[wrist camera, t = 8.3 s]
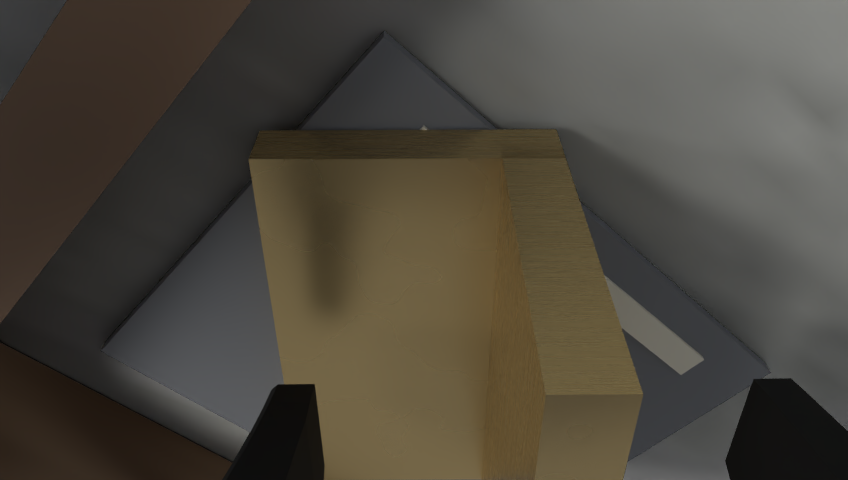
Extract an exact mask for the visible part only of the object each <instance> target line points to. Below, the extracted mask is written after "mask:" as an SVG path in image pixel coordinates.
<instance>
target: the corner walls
mask: <svg viewBox="0 0 848 480" xmlns="http://www.w3.org/2000/svg"><path fill="white" fill-rule="evenodd" d="M251 1H252V0H67V1H66V3H65V4H64V6H63V8H62V9H61V11H60V12H59V14H58V15H57V17H56V18H55V20H54V22H53V23H52V25H51V26H50V28H49V29H48V31H47V32H46V34H45V36H44V37H43V39H42V40H41V42H40V43H39V45H38V47H37V48H36V50H35V51H34V53H33V54H32V56H31V57H30V59H29V61H28V62H27V64H26V65H25V67H24V68H23V70H22V71H21V73H20V75H19V76H18V78H17V79H16V81H15V82H14V84H13V86H12V87H11V89H10V90H9V92H8V93H7V95H6V96H5V98H4V100H3V101H2V103H1V104H0V323H1V322H2V321H3V319H4V318H5V317H6V316H7V314H8V313H9V312H10V310H11V309H12V308H13V307H14V305H15V304H16V303H17V301H18V300H19V299H20V298H21V296H22V295H23V294H24V292H25V291H26V290H27V289H28V287H29V286H30V285H31V283H32V282H33V281H34V280H35V278H36V277H37V276H38V274H39V273H40V272H41V271H42V269H43V268H44V267H45V265H46V264H47V263H48V262H49V260H50V259H51V258H52V256H53V255H54V254H55V253H56V251H57V250H58V249H59V247H60V246H61V245H62V244H63V242H64V241H65V240H66V238H67V237H68V236H69V235H70V233H71V232H72V231H73V229H74V228H75V227H76V226H77V224H78V223H79V222H80V220H81V219H82V218H83V217H84V215H85V214H86V213H87V211H88V210H89V209H90V208H91V206H92V205H93V204H94V202H95V201H96V200H97V199H98V197H99V196H100V195H101V193H102V192H103V191H104V190H105V188H106V187H107V186H108V184H109V183H110V182H111V181H112V179H113V178H114V177H115V175H116V174H117V173H118V172H119V170H120V169H121V168H122V166H123V165H124V164H125V163H126V161H127V160H128V159H129V157H130V156H131V155H132V154H133V152H134V151H135V150H136V148H137V147H138V146H139V145H140V143H141V142H142V141H143V139H144V138H145V137H146V136H147V134H148V133H149V132H150V130H151V129H152V128H153V127H154V125H155V124H156V123H157V122H158V120H159V119H160V118H161V116H162V115H163V114H164V113H165V111H166V110H167V109H168V107H169V106H170V105H171V104H172V102H173V101H174V100H175V98H176V97H177V96H178V95H179V93H180V92H181V91H182V89H183V88H184V87H185V86H186V84H187V83H188V82H189V80H190V79H191V78H192V77H193V75H194V74H195V73H196V71H197V70H198V69H199V68H200V66H201V65H202V64H203V62H204V61H205V60H206V59H207V57H208V56H209V55H210V53H211V52H212V51H213V50H214V48H215V47H216V46H217V44H218V43H219V42H220V41H221V39H222V38H223V37H224V35H225V34H226V33H227V32H228V30H229V29H230V28H231V26H232V25H233V24H234V23H235V21H236V20H237V19H238V17H239V16H240V15H241V14H242V12H243V11H244V10H245V8H246V7H247V6H248V5H249V3H250V2H251ZM231 464H232V462H230V461H228V460H226V459H224V458H222V457H220V456H218V455H216V454H215V453H213V452H211V451H209V450H207V449H205V448H203V447H201V446H199V445H197V444H195V443H193V442H191V441H189V440H187V439H186V438H184V437H182V436H180V435H178V434H176V433H174V432H172V431H170V430H168V429H166V428H164V427H162V426H160V425H159V424H157V423H155V422H153V421H151V420H149V419H147V418H145V417H143V416H141V415H139V414H137V413H135V412H133V411H132V410H130V409H128V408H126V407H124V406H122V405H120V404H118V403H116V402H114V401H112V400H110V399H108V398H106V397H104V396H103V395H101V394H99V393H97V392H95V391H93V390H91V389H89V388H87V387H85V386H83V385H81V384H79V383H77V382H76V381H74V380H72V379H70V378H68V377H66V376H64V375H62V374H60V373H58V372H56V371H54V370H52V369H50V368H49V367H47V366H45V365H43V364H41V363H39V362H37V361H35V360H33V359H31V358H29V357H27V356H25V355H23V354H21V353H20V352H18V351H16V350H14V349H12V348H10V347H8V346H6V345H4V344H2V343H0V480H222V479H223V477H224V476H225V474H226V473H227V471H228V469H229V468H230V466H231Z"/></svg>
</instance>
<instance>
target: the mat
mask: <svg viewBox="0 0 848 480" xmlns="http://www.w3.org/2000/svg"><path fill="white" fill-rule="evenodd" d="M296 130H498V129H496V128H495V127H494V126H493V125H492V124H491V123H490V122H488V121H487V120H486V119H485V118H484V117H483V116H482V115H480V114H479V113H478V112H477V111H476V110H475V109H474V108H472V107H471V106H470V105H469V104H468V103H467V102H465V101H464V100H463V99H462V98H461V97H460V96H459V95H457V94H456V93H455V92H454V91H453V90H452V89H451V88H449V87H448V86H447V85H446V84H445V83H444V82H443V81H441V80H440V79H439V78H438V77H437V76H436V75H435V74H433V73H432V72H431V71H430V70H429V69H428V68H427V67H425V66H424V65H423V64H422V63H421V62H420V61H418V60H417V59H416V58H415V57H414V56H413V55H412V54H410V53H409V52H408V51H407V50H406V49H405V48H404V47H402V46H401V45H400V44H399V43H398V42H397V41H396V40H394V39H393V38H392V37H391V36H390V35H389V34H388V33H386V32H385V31H384V32H383V33H382V34H381V35H380V36H379V37H378V38H377V40H376V41H375V42H374V43H373V44H372V45H371V46H370V47H369V48H368V50H367V51H366V52H365V53H364V54H363V55H362V56H361V57H360V59H359V60H358V61H357V62H356V63H355V64H354V65H353V66H352V67H351V69H350V70H349V71H348V72H347V73H346V74H345V75H344V76H343V77H342V79H341V80H340V81H339V82H338V83H337V84H336V85H335V86H334V87H333V89H332V90H331V91H330V92H329V93H328V94H327V95H326V96H325V98H324V99H323V100H322V101H321V102H320V103H319V104H318V105H317V106H316V108H315V109H314V110H313V111H312V112H311V113H310V114H309V115H308V116H307V118H306V119H305V120H304V121H303V122H302V123H301V124H300V125H299V126H298V128H297V129H296ZM580 203H581V202H580ZM581 206H582V209H583V212H584V215H585V218H586V221H587V224H588V228H589V231H590V234H591V237H592V240H593V243H594V246H595V249H596V252H597V255H598V258H599V261H600V264H601V267H602V270H603V273H604V276H605V279H606V282H607V285H608V288H609V291H610V295H611V298H612V301H613V304H614V307H615V310H616V313H617V316H618V319H619V322H620V325H621V328H622V331H623V334H624V337H625V340H626V343H627V346H628V349H629V352H630V355H631V358H632V361H633V365H634V368H635V371H636V374H637V377H638V380H639V383H640V386H641V389H642V392H643V398H642V402H641V406H640V410H639V415H638V419H637V423H636V427H635V431H634V436H633V440H632V444H631V448H630V452H629V457H628V461H629V460H631V459H633V458H634V457H636V456H638V455H639V454H641V453H642V452H644V451H646V450H647V449H649V448H650V447H652V446H654V445H655V444H657V443H658V442H660V441H662V440H663V439H665V438H667V437H668V436H670V435H671V434H673V433H675V432H676V431H678V430H679V429H681V428H683V427H684V426H686V425H687V424H689V423H691V422H692V421H694V420H695V419H697V418H699V417H700V416H702V415H704V414H705V413H707V412H708V411H710V410H712V409H713V408H715V407H716V406H718V405H720V404H721V403H723V402H724V401H726V400H728V399H729V398H731V397H732V396H734V395H736V394H737V393H739V392H741V391H742V390H744V389H745V388H747V387H749V386H750V385H752V382H753V379H761V378H763V377H765V376H766V375H768V374H770V373H771V372H770V371H769V369H768V367H767V365H766V363H765V362H764V361H762V360H761V359H760V358H759V357H758V356H757V355H756V354H754V353H753V352H752V351H751V350H750V349H749V348H748V347H746V346H745V345H744V344H743V343H742V342H741V341H740V340H738V339H737V338H736V337H735V336H734V335H733V334H731V333H730V332H729V331H728V330H727V329H726V328H725V327H723V326H722V325H721V324H720V323H719V322H718V321H717V320H715V319H714V318H713V317H712V316H711V315H710V314H709V313H707V312H706V311H705V310H704V309H703V308H702V307H701V306H699V305H698V304H697V303H696V302H695V301H694V300H692V299H691V298H690V297H689V296H688V295H687V294H686V293H684V292H683V291H682V290H681V289H680V288H679V287H678V286H676V285H675V284H674V283H673V282H672V281H671V280H670V279H668V278H667V277H666V276H665V275H664V274H663V273H662V272H660V271H659V270H658V269H657V268H656V267H655V266H654V265H652V264H651V263H650V262H649V261H648V260H647V259H645V258H644V257H643V256H642V255H641V254H640V253H639V252H637V251H636V250H635V249H634V248H633V247H632V246H631V245H629V244H628V243H627V242H626V241H625V240H624V239H623V238H621V237H620V236H619V235H618V234H617V233H616V232H615V231H613V230H612V229H611V228H610V227H609V226H608V225H607V224H605V223H604V222H603V221H602V220H601V219H600V218H598V217H597V216H596V215H595V214H594V213H593V212H592V211H590V210H589V209H588V208H587V207H586V206H585V205H584V204H582V203H581ZM101 352H103V353H105V354H107V355H109V356H111V357H112V358H114V359H116V360H118V361H120V362H122V363H123V364H125V365H127V366H129V367H131V368H133V369H134V370H136V371H138V372H140V373H142V374H144V375H145V376H147V377H149V378H151V379H153V380H155V381H157V382H158V383H160V384H162V385H164V386H166V387H168V388H169V389H171V390H173V391H175V392H177V393H179V394H180V395H182V396H184V397H186V398H188V399H190V400H192V401H193V402H195V403H197V404H199V405H201V406H203V407H204V408H206V409H208V410H210V411H212V412H214V413H215V414H217V415H219V416H221V417H223V418H225V419H226V420H228V421H230V422H232V423H234V424H236V425H238V426H239V427H241V428H243V429H245V430H247V431H249V432H251V430H252V428H253V426H254V424H255V422H256V420H257V418H258V417H259V415H260V413H261V411H262V409H263V407H264V405H265V403H266V400H267V398H268V396H269V394H270V392H271V390H272V389H273V388H274V387H275V386H276V385H278V384H284V381H283V374H282V368H281V362H280V356H279V349H278V343H277V337H276V330H275V324H274V318H273V311H272V305H271V299H270V292H269V286H268V280H267V273H266V267H265V261H264V254H263V248H262V242H261V236H260V229H259V223H258V217H257V210H256V204H255V198H254V191H253V185H252V179H251V180H250V181H249V182H248V183H247V184H246V186H245V187H244V188H243V189H242V190H241V191H240V192H239V193H238V194H237V196H236V197H235V198H234V199H233V200H232V201H231V202H230V203H229V205H228V206H227V207H226V208H225V209H224V210H223V211H222V212H221V213H220V215H219V216H218V217H217V218H216V219H215V220H214V221H213V222H212V223H211V225H210V226H209V227H208V228H207V229H206V230H205V231H204V232H203V234H202V235H201V236H200V237H199V238H198V239H197V240H196V241H195V242H194V244H193V245H192V246H191V247H190V248H189V249H188V250H187V251H186V252H185V254H184V255H183V256H182V257H181V258H180V259H179V260H178V261H177V262H176V264H175V265H174V266H173V267H172V268H171V269H170V270H169V271H168V273H167V274H166V275H165V276H164V277H163V278H162V279H161V280H160V281H159V283H158V284H157V285H156V286H155V287H154V288H153V289H152V290H151V291H150V293H149V294H148V295H147V296H146V297H145V298H144V299H143V300H142V302H141V303H140V304H139V305H138V306H137V307H136V308H135V309H134V310H133V312H132V313H131V314H130V315H129V316H128V317H127V318H126V319H125V320H124V322H123V323H122V324H121V325H120V326H119V327H118V328H117V329H116V330H115V332H114V333H113V334H112V335H111V336H110V337H109V338H108V339H107V341H106V342H105V344H104V346H103V348H102V350H101ZM628 461H627V462H628ZM454 480H481V479H454Z"/></svg>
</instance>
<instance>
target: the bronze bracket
mask: <svg viewBox="0 0 848 480" xmlns="http://www.w3.org/2000/svg"><path fill="white" fill-rule="evenodd" d="M248 160H249V166H250V172H251V179H252V185H253V191H254V198H255V204H256V210H257V217H258V223H259V229H260V236H261V242H262V248H263V254H264V261H265V267H266V273H267V280H268V286H269V292H270V299H271V305H272V311H273V318H274V324H275V330H276V337H277V343H278V349H279V356H280V362H281V368H282V374H283V381H284V384H315V390H316V398H317V406H318V414H319V423H320V431H321V439H322V447H323V456H324V464H325V470H324V480H454V479H481V480H623V478H624V473H625V469H626V465H627V461H628V457H629V452H630V448H631V444H632V440H633V436H634V431H635V427H636V423H637V419H638V415H639V410H640V406H641V402H642V398H643V392H642V389H641V386H640V383H639V380H638V377H637V374H636V371H635V368H634V365H633V361H632V358H631V355H630V352H629V349H628V346H627V343H626V340H625V337H624V334H623V331H622V328H621V325H620V322H619V319H618V316H617V313H616V310H615V307H614V304H613V301H612V298H611V295H610V291H609V288H608V285H607V282H606V279H605V276H604V273H603V270H602V267H601V264H600V261H599V258H598V255H597V252H596V249H595V246H594V243H593V240H592V237H591V234H590V231H589V228H588V224H587V221H586V218H585V215H584V212H583V209H582V206H581V203H580V200H579V197H578V194H577V191H576V188H575V185H574V182H573V179H572V176H571V173H570V170H569V167H568V164H567V161H566V157H565V154H564V151H563V148H562V145H561V142H560V139H559V136H558V133H557V130H556V129H511V130H282V131H259V134H258V136H257V139H256V141H255V144H254V147H253V149H252V152H251V154H250V157H249V159H248Z"/></svg>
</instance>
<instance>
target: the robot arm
mask: <svg viewBox="0 0 848 480" xmlns="http://www.w3.org/2000/svg"><path fill="white" fill-rule="evenodd" d="M725 462H726V465H727V469H728V473H729V476H730V480H848V431H847V430H846V429H845V428H844V427H843V426H841V425H840V424H839V423H838V422H837V421H836V420H835V419H834V418H833V417H832V416H831V415H830V414H829V413H828V412H827V411H826V410H824V409H823V408H822V407H821V406H820V405H819V404H818V403H817V402H816V401H815V400H814V399H813V398H812V397H811V396H809V395H808V394H807V393H806V392H805V391H804V390H803V389H802V388H801V387H800V386H799V385H797V384H796V383H795V382H794V381H793V380H792V379H791V378H789V379H753V382H752V385H751V388H750V391H749V394H748V397H747V400H746V402H745V405H744V408H743V411H742V414H741V417H740V420H739V423H738V426H737V428H736V431H735V434H734V437H733V440H732V443H731V446H730V449H729V452H728V455H727V457H726V460H725ZM324 470H325V464H324V456H323V447H322V439H321V431H320V423H319V414H318V406H317V398H316V390H315V384H278V385H276V386H275V387H274V388H273V389H272V390H271V392H270V394H269V396H268V398H267V400H266V403H265V405H264V407H263V409H262V411H261V413H260V415H259V417H258V418H257V420H256V422H255V424H254V426H253V428H252V430H251V432H250V433H249V435H248V437H247V439H246V441H245V442H244V444H243V446H242V448H241V449H240V451H239V453H238V455H237V456H236V458H235V460H234V461H233V463H232V464H231V466H230V468H229V469H228V471H227V473H226V474H225V476H224V477H223V479H222V480H324Z"/></svg>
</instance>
